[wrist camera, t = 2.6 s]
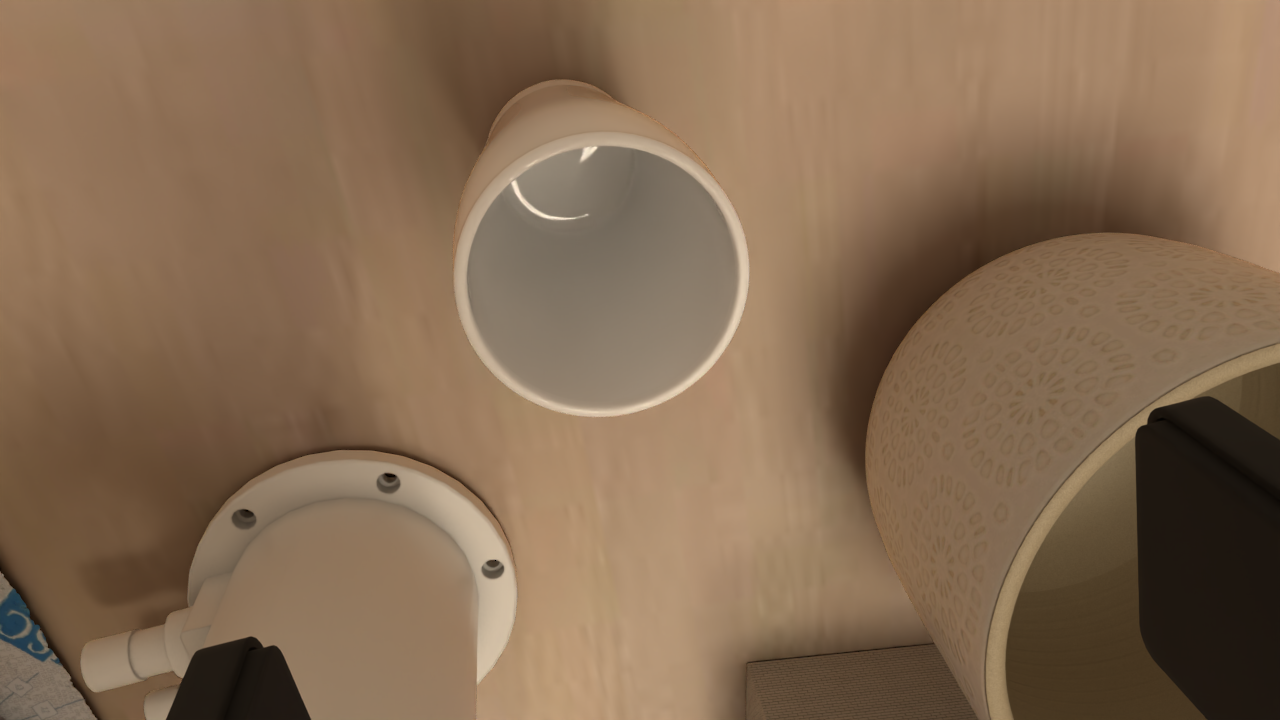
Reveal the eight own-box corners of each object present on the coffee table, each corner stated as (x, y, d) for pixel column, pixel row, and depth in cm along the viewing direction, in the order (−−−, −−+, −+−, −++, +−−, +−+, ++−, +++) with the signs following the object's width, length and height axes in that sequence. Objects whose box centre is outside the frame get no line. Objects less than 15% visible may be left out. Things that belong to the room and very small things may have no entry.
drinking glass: (648, 44, 36) (746, 111, 22) (665, 235, 39) (762, 402, 25) (449, 66, 35) (423, 149, 22) (480, 259, 38) (474, 442, 24)
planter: (1213, 526, 47) (1520, 776, 33) (843, 613, 46) (998, 908, 32) (1227, 150, 40) (1621, 264, 26) (797, 243, 39) (966, 412, 25)
